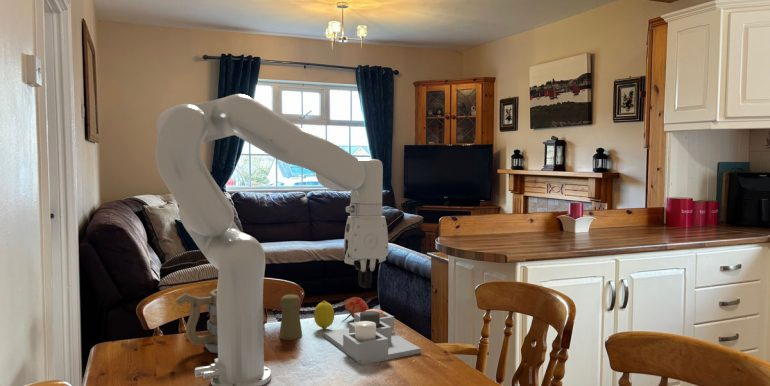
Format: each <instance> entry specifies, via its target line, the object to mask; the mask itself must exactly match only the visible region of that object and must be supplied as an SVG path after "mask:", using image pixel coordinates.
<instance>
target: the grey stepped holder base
mask: <svg viewBox="0 0 770 386" xmlns="http://www.w3.org/2000/svg"><path fill="white" fill-rule="evenodd" d="M382 311H383V310H382ZM360 313H361V312H360ZM360 313H354V318H353V322H349V323H348V327H346V328H339V329H334V330H328V331H323V332H322V333H323V334H322V335H323V337H324V338H325V339H326V340H328V342H330V343H331V344H333V345H334V346H336V347H337V348H338V349H340V350H341V351H342V352H344V353H345V354H346V355H348V356H349V357H350V358H352V359H353V360H355V361H356V362H357V363H359V364H360V365H361V366H362V365H363V366H364V365H367V364H368V365H369V364H373V363H378V362H382V361H388V360H392V359H393V360H394V359H397V358H402V357H408V356H414V355H419V354H421V352H422V351H421V347H419V346H418V345H416V344H414V343H412V342H410V341H408V340H406V338H403V337H402V336H400V335H398V334H397V333H394V331H395V316H394V315H391V314H389V313H388V312H386V311H383V317H382V318H380V328H376V339H375V340H370V341H364V342H359V341H357V340H356V339H355V323H357V322H360Z"/></svg>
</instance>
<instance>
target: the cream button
mask: <svg viewBox="0 0 770 386" xmlns="http://www.w3.org/2000/svg"><path fill="white" fill-rule="evenodd" d="M355 339H356V340H357V341H359V342H364V341H370V340H375V339H376V323H374V322H371V321H361V322H357V323H355Z"/></svg>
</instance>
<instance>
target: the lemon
mask: <svg viewBox="0 0 770 386" xmlns="http://www.w3.org/2000/svg"><path fill="white" fill-rule="evenodd" d="M334 310H335V309H334V307H333V306H332V304H331V303H329V302H328V301H326V300H322V301H321V302H319V303H318V304H317V305H316V307H315V308H314V312H313V318H314V322H315V324H316V325H317V326H318V327H319V328H321V329H322V330H326V329H327V328H328V327H330V326H332V325H333V322H334V321H335V311H334Z"/></svg>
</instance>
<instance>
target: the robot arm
mask: <svg viewBox="0 0 770 386" xmlns="http://www.w3.org/2000/svg"><path fill="white" fill-rule="evenodd" d="M155 129H156V133H157V138H156V144H155V151H154V153H155V154H154V156H155V164H156V167H157V171H158V173H159V176H160V178H161V179H162V181H163V182H164V184H165V186H166V187H167V189H168V190H169V192H170V194H171V196H172V197H173V199H174V200H175V202H176V203H177V206H178V217H179V220H180V222H181V223H182V225H183V227H184V229H185V230H186V232H187V233H188V234H189V236H190V238H192V240H193V242H194V243H195V245H196V246H197V247H198V249H199V250H200V252H201V253H202V254H203V256H204V257H205V258H206V260H207V261H208V262H209V263H210V264H211V266H212V267H214V268H215V269H217V270H218V272H217V273H218V277H217V285H216V286H217V287H216V289H217V337H218V353H217V358H214V362H213V363H210V364H209V365H206V366H197V367H195V368H194V376H195V378H198V377H203V379H204V380H207V379H210V384H211V386H264V385H265V384H267V383H268V382H270V380H271V378H272V370H271V369H270V368H269V367H267V366H265V359H264V358H265V357H264V356H265V355H264V354H265V352H264V351H265V350H264V349H265V348H264V347H265V345H264V343H265V342H264V280H265V279H264V278H265V270H266V255H265V253H266V252H265V250H264V248H263V246H262V244H261V243H260V242H259V241H258V240H257V239H256V238H255V237H253V236H252V235H250V234H247V233H245V232H242V231H241V230H240V229H239V227H238V225H236V222H235V212H234V211H235V210H234V208H233V205H232V204H231V202H230V200H229V198H228V197H227V196H226V195H225V194H224V192H223V191H222V189H221V188H220V186H219V185H218V184H217V182H216V180H215V179H214V178H213V176H212V174H211V173H210V171H209V169H208V168H207V165H206V164H205V161H204V159H203V155H202V147H203V146H202V145H203V143H207V142H211V141H215V140H219V139H224V138H227V137H232V136H236V137H238V138H240V139H241V140H243V141H245V142H246V143H248V144H250V145H252V146H254V147H255V148H257V149H259V150H260V151H263V152H264V153H265V154H266V155H269V156H271V157H272V158H274V159H275V160H278V161H280V162H282V163H286V164H288V165H293V166H297V167H300V168H304V169H306V170H309V171H311V172H312V173H315V177H316V180H317V181H318V183H319V184H320V186H323V187H324V188H326V189H329V190H334V191H345V192H350V203H349V205H348V206H345V213H349V215H348V216H347V219H346V223H345V224H346V225H345V230H344V241H343V255H344V260H343V261H344V263H345V264H348V265H353V266H354V268H355V269H356V270H357V284H358V286H359V287H361V288H363V289H369V288H372V283H373V272H374V271H375V268H376V266H377V265H378V264H379V263H382V262H385V261H386V260H387V258H386V257H387V256H388V255H389V232H388V225H387V220H386V216H385V215H383V181H384V180H383V177H384V176H383V174H384V171H383V170H384V169H383V168H384V167H383V162H382V161H381V160H380V159H375V158H357V157H355V155H353V154H351V153H349V152H348V151H347V150H344V149H343V148H342V147H340V146H338V145H337V144H335V143H332V142H331V141H329V140H327V139H325V138H323V137H320V136H318V135H317V134H314V133H312V132H311V131H309V130H306V129H304V128H302V127H300V126H298V125H296V124H295V123H293V122H291V121H289V120H288V119H286V118H284V117H283V116H281V115H280V114H278V113H276V112H275V111H273V110H272V109H270V108H269V107H267V106H266V105H264V104H262V103H261V102H259V101H257V100H256V99H254V98H253V97H250V96H249V95H246V94H242V93H235V94H230V95H228V96H225V97H221V98H217V99H214V100H209V101H204V102H200V103H193V104H190V103H181V104H177V105H174V106H172V107H170V108H167V109H165V110H164V111H163V112H161V114H160V115H159V116H158V118H157V121H156V126H155Z"/></svg>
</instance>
